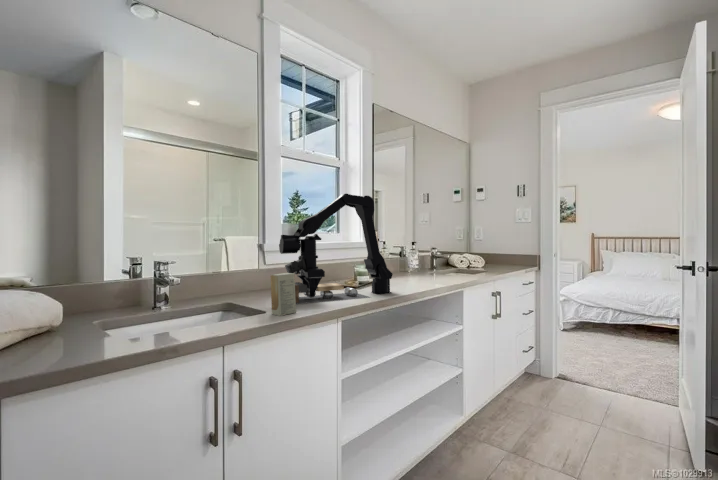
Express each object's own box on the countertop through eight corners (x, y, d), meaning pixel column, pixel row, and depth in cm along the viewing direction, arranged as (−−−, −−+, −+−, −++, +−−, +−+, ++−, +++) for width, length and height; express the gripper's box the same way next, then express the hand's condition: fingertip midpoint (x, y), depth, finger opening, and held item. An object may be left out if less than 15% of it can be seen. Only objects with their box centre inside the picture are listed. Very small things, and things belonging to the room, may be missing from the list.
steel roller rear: (351, 287, 148) (344, 287, 147) (357, 288, 143) (350, 288, 142) (351, 294, 148) (344, 294, 147) (357, 296, 143) (350, 296, 142)
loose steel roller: (310, 295, 141) (310, 287, 141) (315, 297, 136) (315, 289, 136) (303, 295, 140) (303, 287, 140) (307, 297, 135) (307, 289, 135)
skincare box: (288, 311, 118) (287, 272, 118) (296, 313, 115) (295, 273, 115) (270, 314, 113) (269, 274, 113) (278, 316, 110) (277, 274, 110)
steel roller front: (321, 297, 143) (328, 295, 144) (326, 299, 138) (333, 297, 139) (319, 290, 143) (326, 288, 144) (324, 292, 137) (332, 289, 139)
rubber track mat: (354, 293, 154) (354, 292, 154) (371, 298, 140) (371, 297, 140) (282, 299, 142) (282, 298, 142) (292, 305, 127) (292, 304, 127)
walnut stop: (299, 299, 142) (299, 282, 142) (307, 302, 133) (306, 284, 133) (283, 300, 139) (283, 283, 139) (290, 304, 130) (290, 286, 130)
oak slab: (336, 287, 147) (336, 283, 147) (343, 289, 140) (343, 285, 140) (311, 288, 143) (311, 284, 143) (318, 291, 135) (318, 287, 135)
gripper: (280, 253, 143) (281, 293, 143) (293, 254, 126) (294, 300, 126) (309, 252, 148) (309, 291, 148) (324, 253, 131) (325, 297, 131)
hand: (309, 295), depth 138 cm, fingers closed on loose steel roller, 6 cm apart
